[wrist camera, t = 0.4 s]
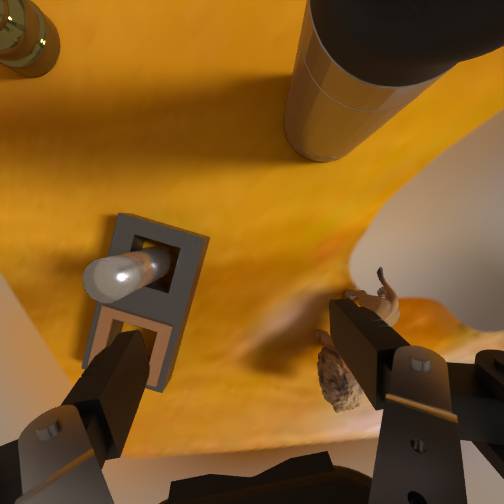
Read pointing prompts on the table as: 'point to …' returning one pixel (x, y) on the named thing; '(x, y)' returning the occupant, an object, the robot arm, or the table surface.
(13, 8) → the bronze chess pawn
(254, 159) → the table surface
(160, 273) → the steel peg
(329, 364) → the lion figurine
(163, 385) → the block with square holes
